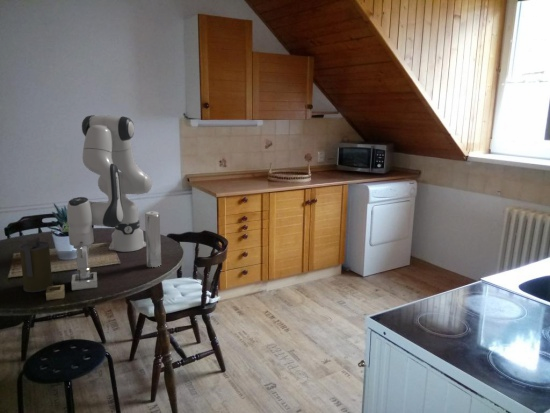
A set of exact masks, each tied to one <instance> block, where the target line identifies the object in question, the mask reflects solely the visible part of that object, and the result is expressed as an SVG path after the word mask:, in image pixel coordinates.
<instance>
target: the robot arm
mask: <svg viewBox="0 0 550 413" xmlns="http://www.w3.org/2000/svg"><path fill="white" fill-rule="evenodd" d="M81 130H82V131H81V132H82V134H83V135H84V137H85V139H84V143H83V150H82V163H83V164H84V166H85V168H86V169H87V170H88V171H90V172H93V173H94V174H96V175H99V177H98V179H97V186H98V189H99V190H100V191H101V192H102V193H104V194H105V195H106V196H107V198H108V199H107V200H108V201H107V202H99V201H98V202H97V201H91V200H89V198H88V197H84V196H79V197H78V196H77V197H73V198H71V199H70V200H68V202H67V207H66V208H67V209H66V216H67V217H66V220H67V224H68V243H69V245H70V246H73V249H76V252H75V253H76V263H77V264H76V267H77V269H80V270H81V276H86V268H88V266H89V248H91V246H92V244H93V243H94V242H95V241H94V240H95V239H94V229H93V227H92V226H99V227H100V226H101V227H107V228H113V229H114V231H113V232H112V233H111V234H110V235H111V236H110V238H111V242H110V244H109V245H108V250H110V251H111V250H112V251H115V252H123V253H125V252H134V251H138V250H140V249H143V248H146V240H145V239H144V230H142V229H141V225H140V224H141V223H140V219H139V206H138V205H137V203H136V202H135V201H133V200H131V199H129V197H127V195H144V194H148V193H149V192H150V191H151V189H152V185H153V181H152V178H151V176H150V175H148V174H147V173H146V172H144V171H143V170H142V169H141V168H140V166H138V165H137V163H136V160H135V158H134V157H135V156H134V154H133V147H132V145H133V144H132V140H131V139H132V138H133V137H134V134H135V124H134V122H133V121H132V119H131V118H130V117H127V116H119V115H113V114H111V115H110V114H109V115H108V114H107V115H103V114H102V115H94V114H93V115H92V114H91V115H87V116H85V117H84V118H83V120H82V122H81Z"/></svg>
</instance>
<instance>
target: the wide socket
mask: <svg viewBox="0 0 550 413" xmlns="http://www.w3.org/2000/svg"><path fill="white" fill-rule="evenodd" d="M97 274H98V273H97V271H93V272H90V278H91V280H86V281H79V278H78V273H77V274H75V273H74V274H72V275H71V290H72V291H79V290H86V289H93V288H98V276H97Z"/></svg>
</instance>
